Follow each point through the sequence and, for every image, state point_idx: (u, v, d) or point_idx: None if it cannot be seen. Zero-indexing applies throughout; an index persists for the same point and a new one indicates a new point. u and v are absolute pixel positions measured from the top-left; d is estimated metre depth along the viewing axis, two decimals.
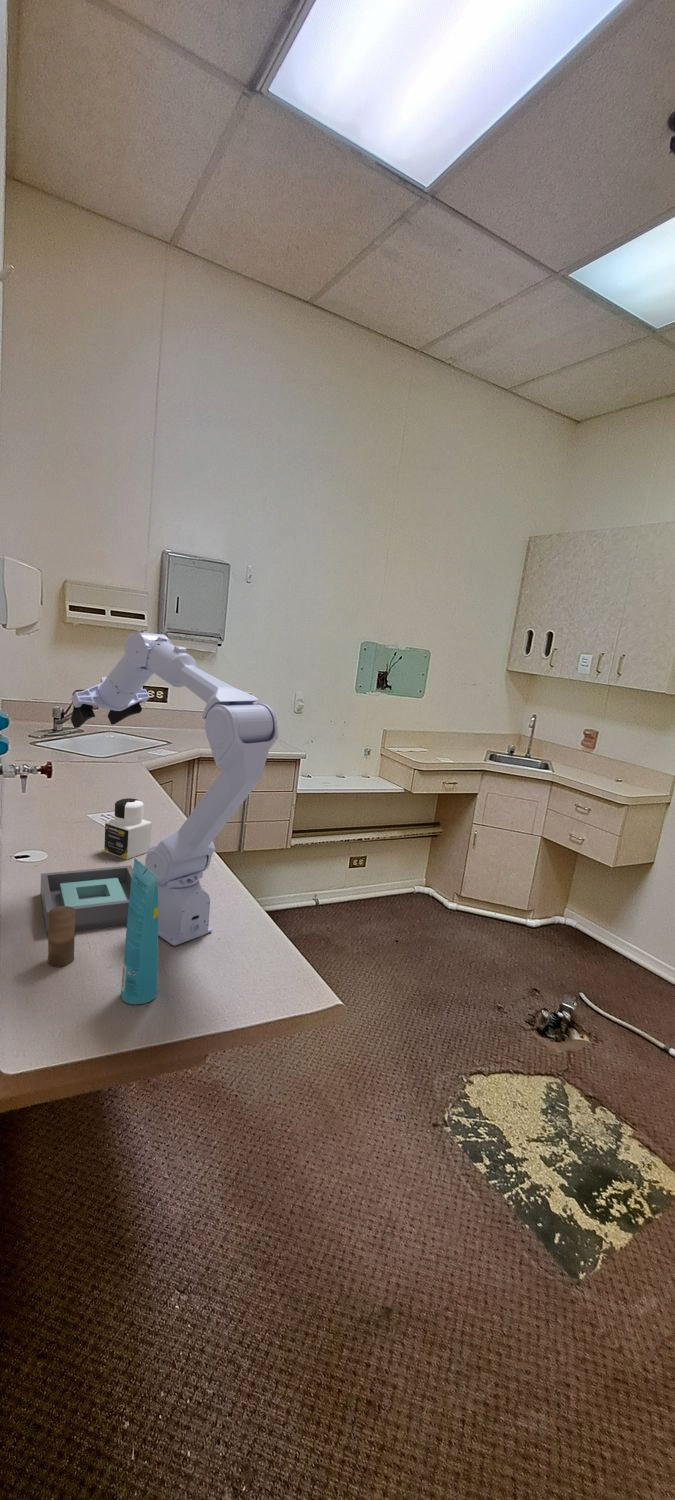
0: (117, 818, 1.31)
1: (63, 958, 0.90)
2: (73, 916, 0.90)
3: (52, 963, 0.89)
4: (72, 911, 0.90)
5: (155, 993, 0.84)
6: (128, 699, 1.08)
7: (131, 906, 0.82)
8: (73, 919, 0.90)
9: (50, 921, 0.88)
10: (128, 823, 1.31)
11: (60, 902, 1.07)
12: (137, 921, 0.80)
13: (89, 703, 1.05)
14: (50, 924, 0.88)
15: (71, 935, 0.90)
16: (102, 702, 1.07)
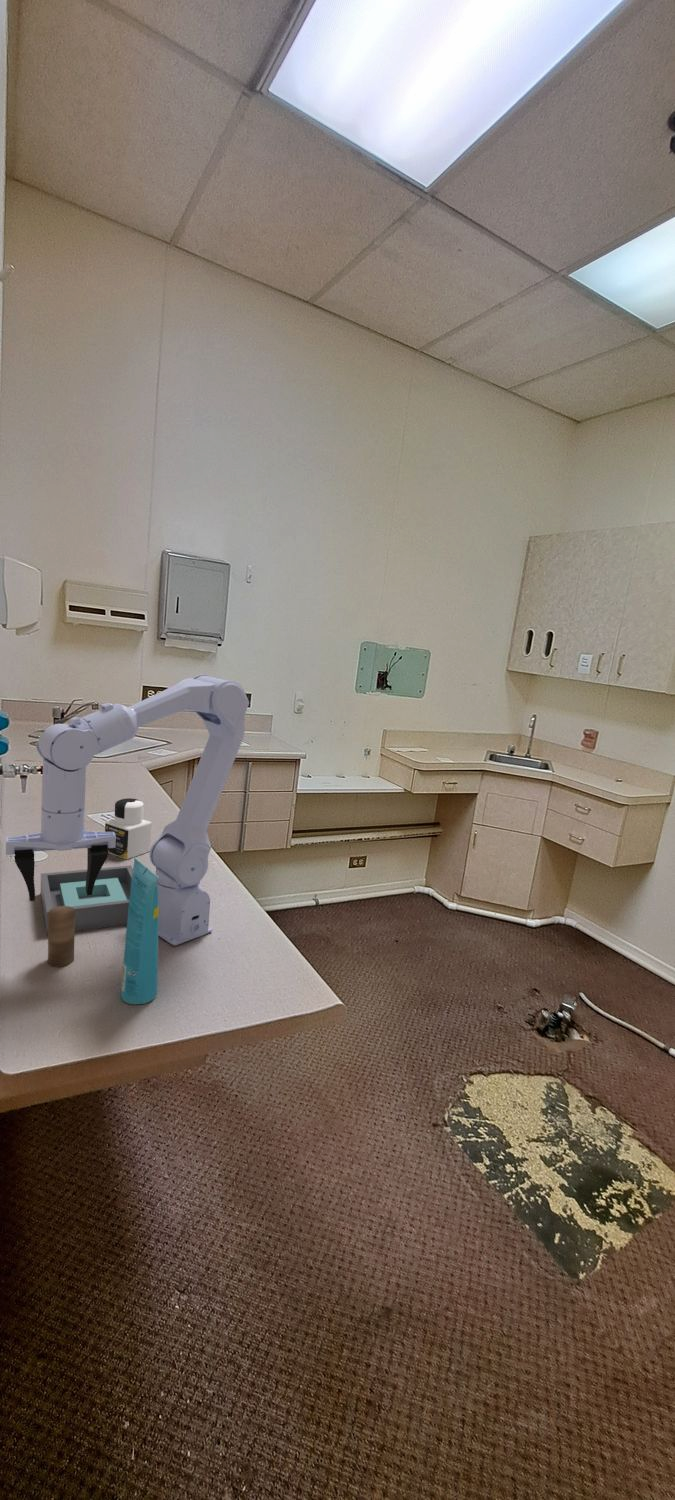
0: (117, 818, 1.31)
1: (63, 958, 0.90)
2: (73, 916, 0.90)
3: (52, 963, 0.89)
4: (72, 911, 0.90)
5: (155, 993, 0.84)
6: None
7: (131, 906, 0.82)
8: (73, 919, 0.90)
9: (50, 921, 0.88)
10: (128, 823, 1.31)
11: (60, 902, 1.07)
12: (137, 921, 0.80)
13: (100, 833, 0.91)
14: (50, 924, 0.88)
15: (71, 935, 0.90)
16: None
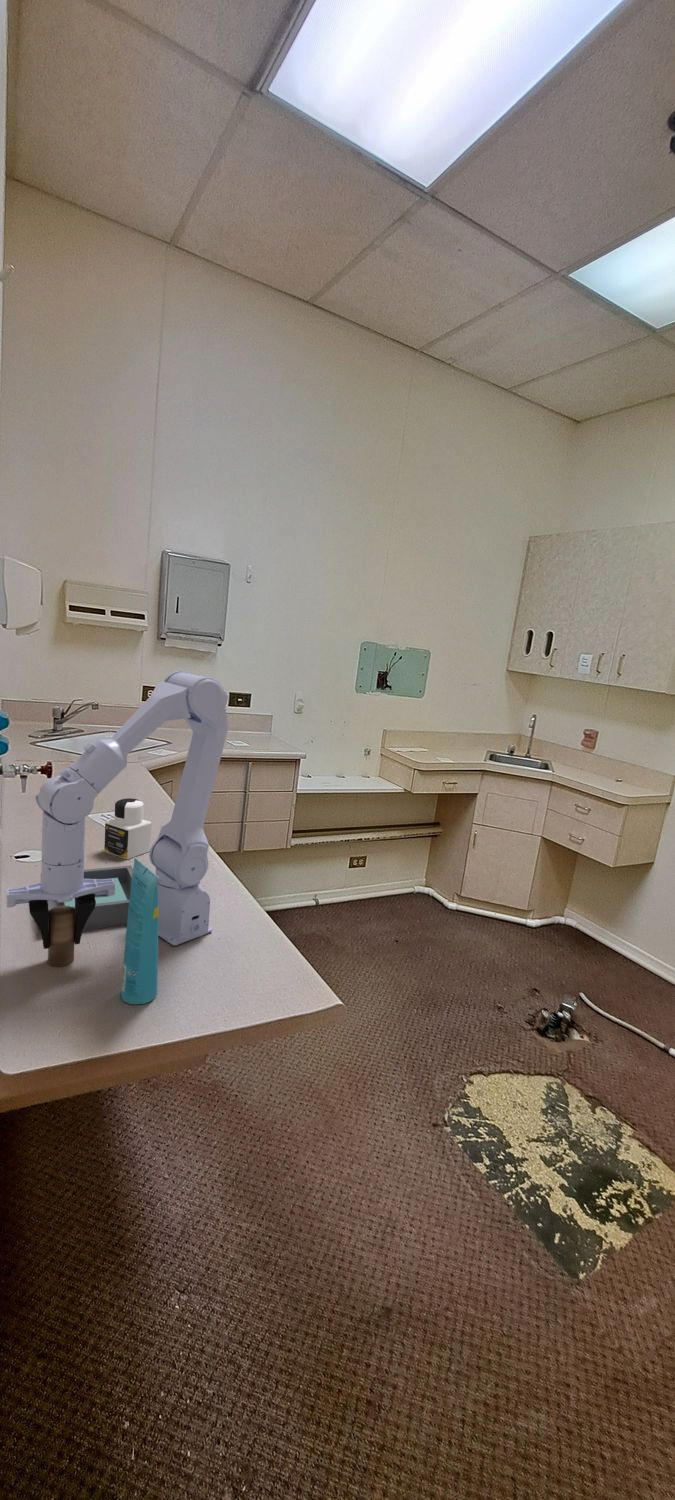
0: (117, 818, 1.31)
1: (63, 958, 0.90)
2: (73, 916, 0.90)
3: (52, 963, 0.89)
4: (72, 911, 0.90)
5: (155, 993, 0.84)
6: None
7: (131, 906, 0.82)
8: (73, 919, 0.90)
9: (50, 921, 0.88)
10: (128, 823, 1.31)
11: (60, 902, 1.07)
12: (137, 921, 0.80)
13: None
14: (50, 924, 0.89)
15: (71, 935, 0.90)
16: None
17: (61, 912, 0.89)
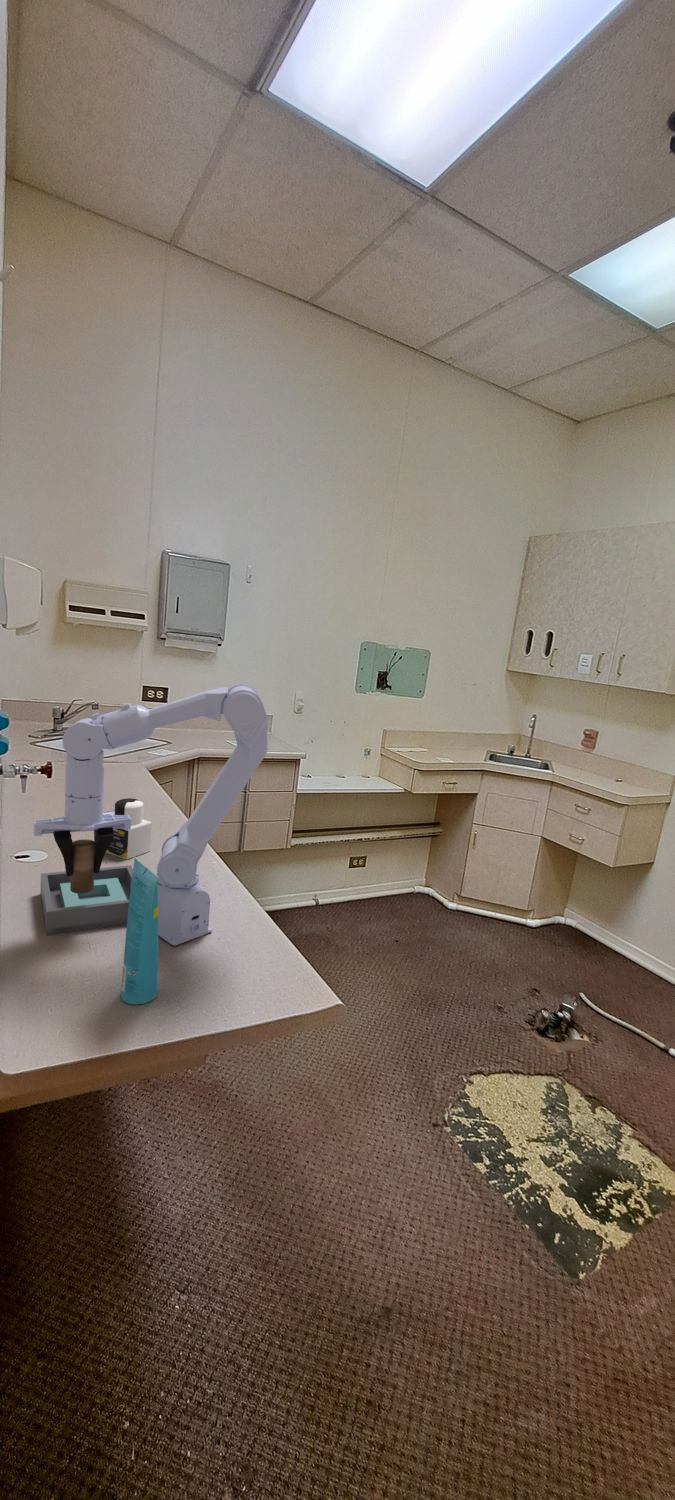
0: None
1: (84, 886, 0.98)
2: (93, 847, 0.98)
3: (74, 890, 0.98)
4: (92, 843, 0.99)
5: (155, 993, 0.84)
6: None
7: (131, 906, 0.82)
8: (93, 850, 0.98)
9: (72, 851, 0.97)
10: None
11: (60, 902, 1.07)
12: (137, 921, 0.80)
13: (116, 816, 1.02)
14: (72, 854, 0.97)
15: (91, 865, 0.98)
16: None
17: (82, 844, 0.98)
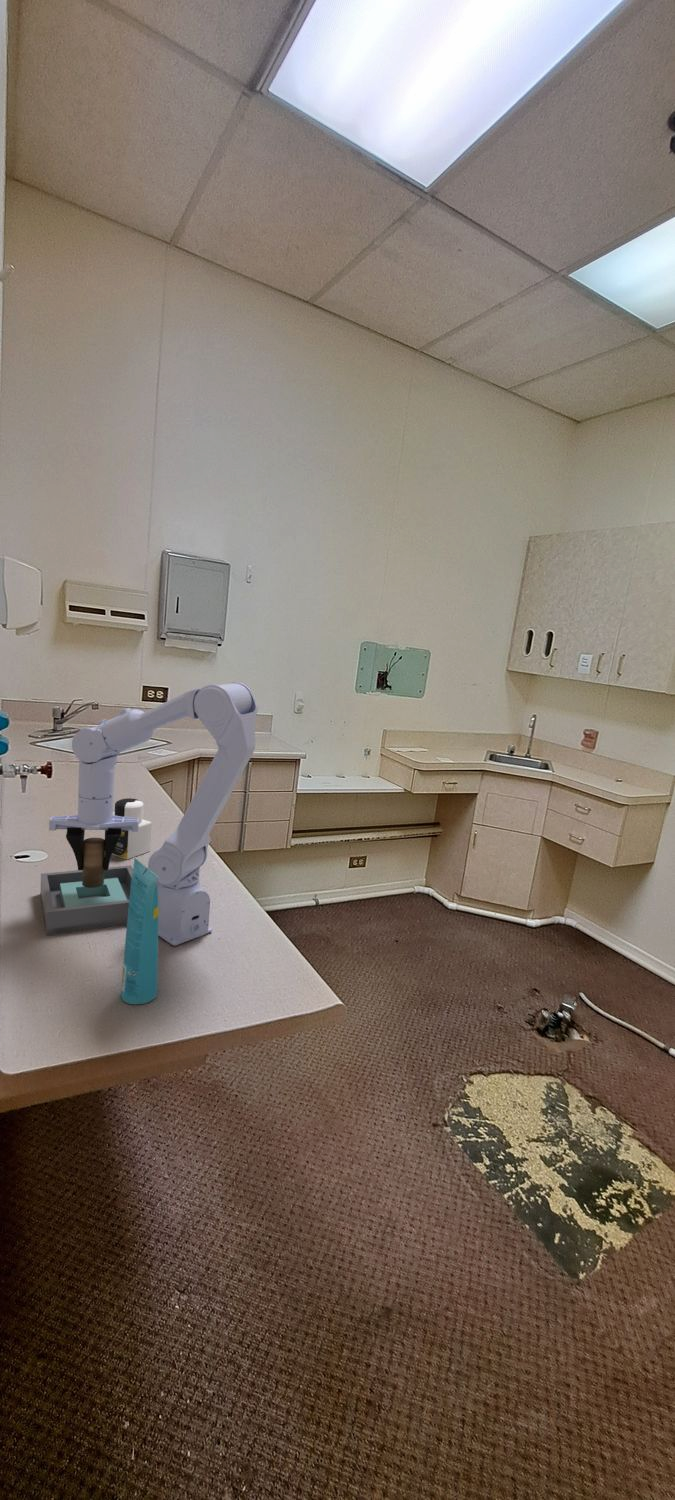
0: None
1: (92, 881, 1.05)
2: (102, 846, 1.05)
3: (83, 883, 1.06)
4: (102, 842, 1.06)
5: (155, 993, 0.84)
6: None
7: (131, 906, 0.82)
8: (102, 849, 1.05)
9: (83, 847, 1.05)
10: None
11: (60, 902, 1.07)
12: (137, 921, 0.80)
13: None
14: (83, 850, 1.05)
15: (99, 862, 1.05)
16: (113, 818, 1.07)
17: (93, 842, 1.05)
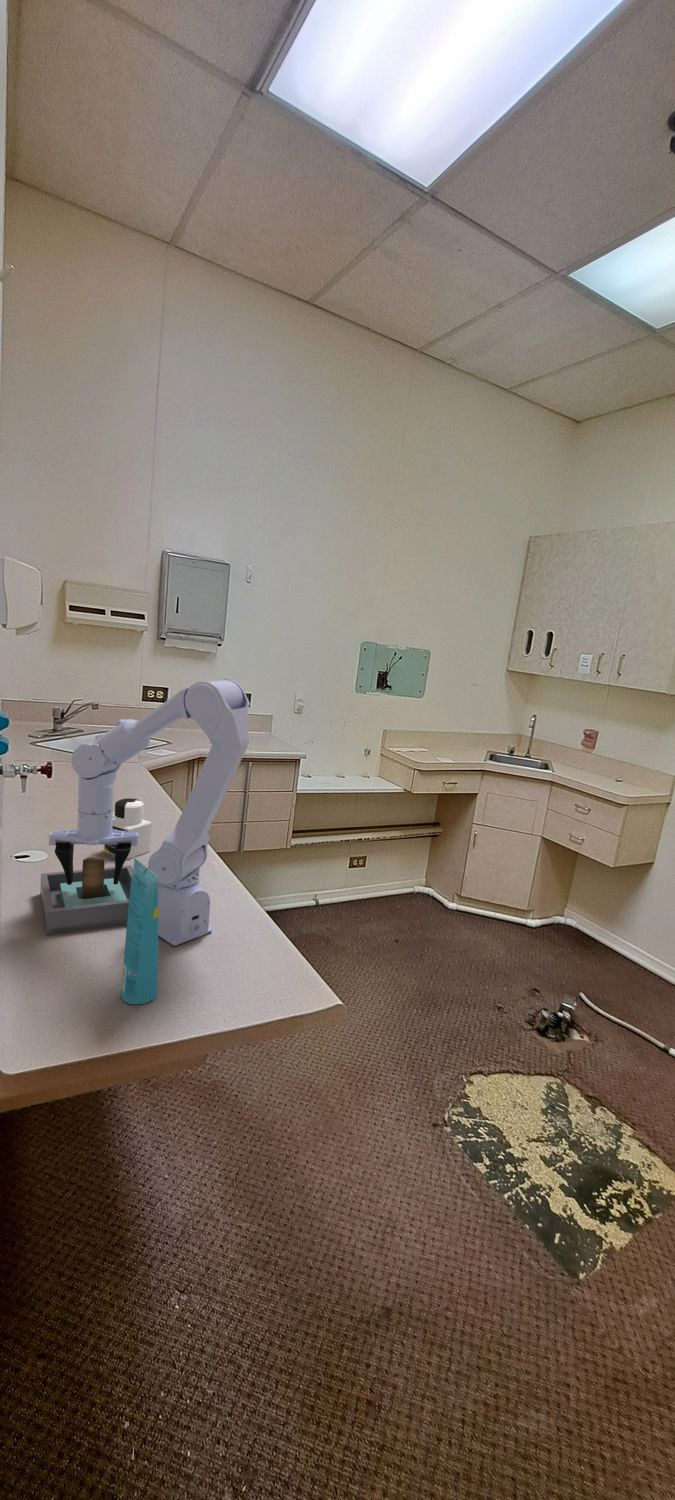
0: (117, 818, 1.31)
1: None
2: (101, 865, 1.06)
3: None
4: (101, 861, 1.06)
5: (155, 993, 0.84)
6: None
7: (131, 906, 0.82)
8: (101, 868, 1.06)
9: (83, 867, 1.06)
10: (128, 823, 1.31)
11: (60, 902, 1.07)
12: (137, 921, 0.80)
13: None
14: (83, 869, 1.06)
15: (99, 881, 1.06)
16: (112, 832, 1.08)
17: (92, 861, 1.06)
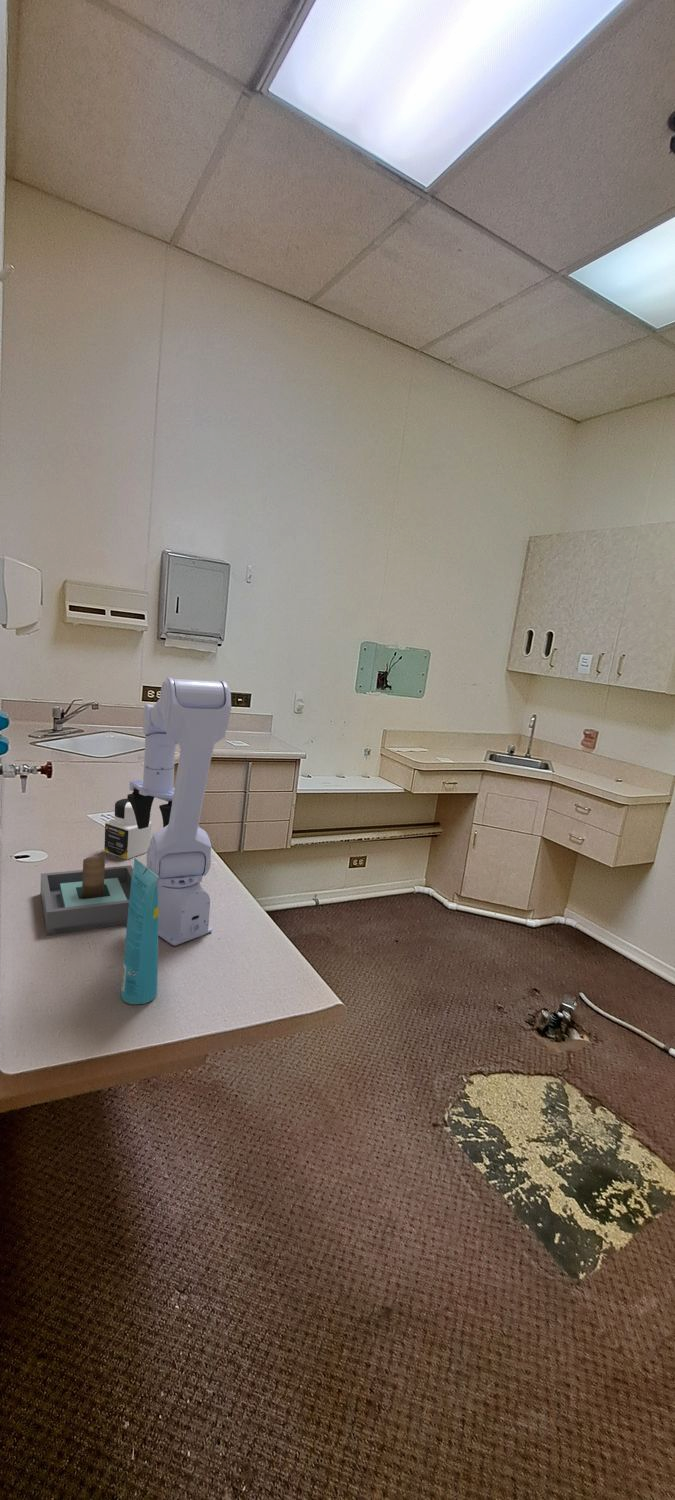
0: (117, 818, 1.31)
1: None
2: (101, 865, 1.06)
3: None
4: (101, 861, 1.06)
5: (155, 993, 0.84)
6: None
7: (131, 906, 0.82)
8: (101, 868, 1.06)
9: (83, 867, 1.06)
10: (128, 823, 1.31)
11: (60, 902, 1.07)
12: (137, 921, 0.80)
13: None
14: (83, 869, 1.06)
15: (99, 881, 1.06)
16: (173, 791, 1.17)
17: (92, 861, 1.06)
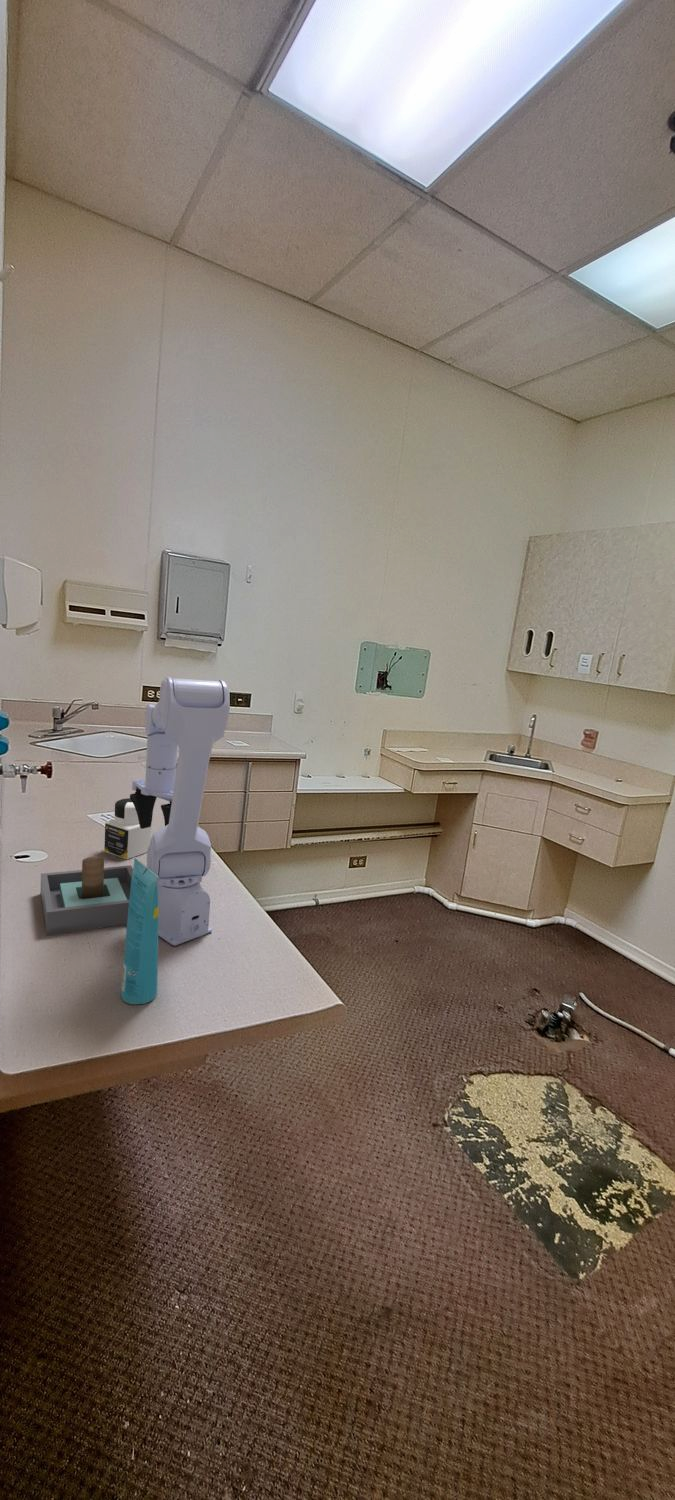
0: (117, 818, 1.31)
1: None
2: (100, 865, 1.06)
3: None
4: (101, 861, 1.06)
5: (155, 993, 0.84)
6: None
7: (131, 906, 0.82)
8: (100, 868, 1.06)
9: (82, 867, 1.06)
10: (128, 823, 1.31)
11: (60, 902, 1.07)
12: (137, 921, 0.80)
13: None
14: (82, 869, 1.06)
15: (98, 881, 1.06)
16: None
17: (92, 861, 1.06)
